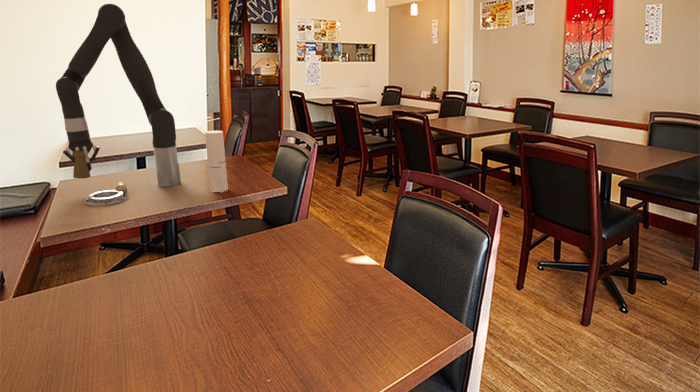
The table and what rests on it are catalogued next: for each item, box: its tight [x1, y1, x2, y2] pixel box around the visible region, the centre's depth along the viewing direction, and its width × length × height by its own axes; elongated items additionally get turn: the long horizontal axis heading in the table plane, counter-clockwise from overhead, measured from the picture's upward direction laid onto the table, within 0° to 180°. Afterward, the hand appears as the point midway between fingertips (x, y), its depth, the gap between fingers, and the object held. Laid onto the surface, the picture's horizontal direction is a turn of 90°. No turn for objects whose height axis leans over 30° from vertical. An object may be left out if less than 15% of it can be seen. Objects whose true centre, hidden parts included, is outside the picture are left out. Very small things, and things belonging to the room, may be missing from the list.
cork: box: [71, 150, 91, 179], centre depth 175 cm, size 6×6×11 cm
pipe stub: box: [115, 181, 128, 195], centre depth 181 cm, size 8×4×4 cm, turn 28°
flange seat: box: [84, 189, 129, 207], centre depth 172 cm, size 15×15×2 cm
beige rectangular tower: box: [204, 130, 229, 193], centre depth 182 cm, size 7×7×25 cm
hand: (86, 171), depth 177 cm, fingers closed on cork, 1 cm apart
